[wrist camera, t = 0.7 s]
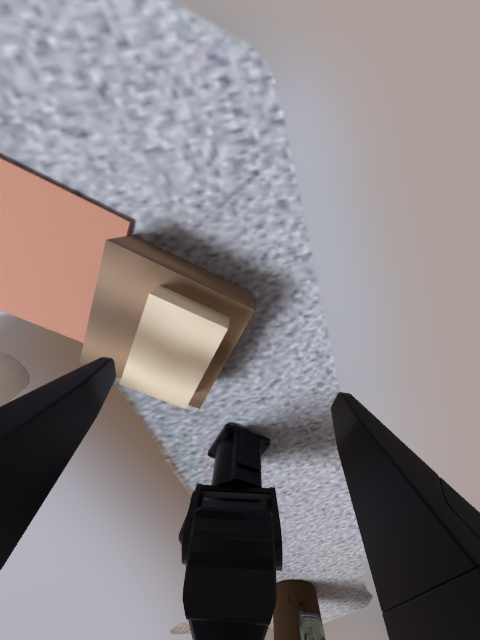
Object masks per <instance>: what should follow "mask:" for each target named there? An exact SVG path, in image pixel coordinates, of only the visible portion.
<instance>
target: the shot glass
mask: <svg viewBox="0 0 480 640" xmlns="http://www.w3.org/2000/svg"><path fill="white" fill-rule="evenodd" d="M28 383H29V375H28V373H27V371H26V369H25V368H24V367H23V366H22V365H21V364H20V363H19V362H18V361H17V360H15V359H14V358H12V357H11V356H9V355H6V354H3V353H0V407H1V406H3V405H5V404H7V403H9V402H10V401H11V400H12V399H14V398H15V397H16V396H17V395H18V394H19V393H20V392H21V391H22V390H23V389H24V388H26V386H27V385H28Z"/></svg>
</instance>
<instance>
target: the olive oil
mask: <svg viewBox="0 0 480 640" xmlns="http://www.w3.org/2000/svg"><path fill="white" fill-rule="evenodd" d="M276 587H277V601H276V605H275V609H274V612H273V623H274V640H325V635H324V630H323V625H322V619H321V615H320V610H319V604H318V599H317V594H316V590H315V587H314V586H313V585H311V584H310V583H307V582H304V581H298V580H288V581H282V582H279V583H277V584H276Z"/></svg>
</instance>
